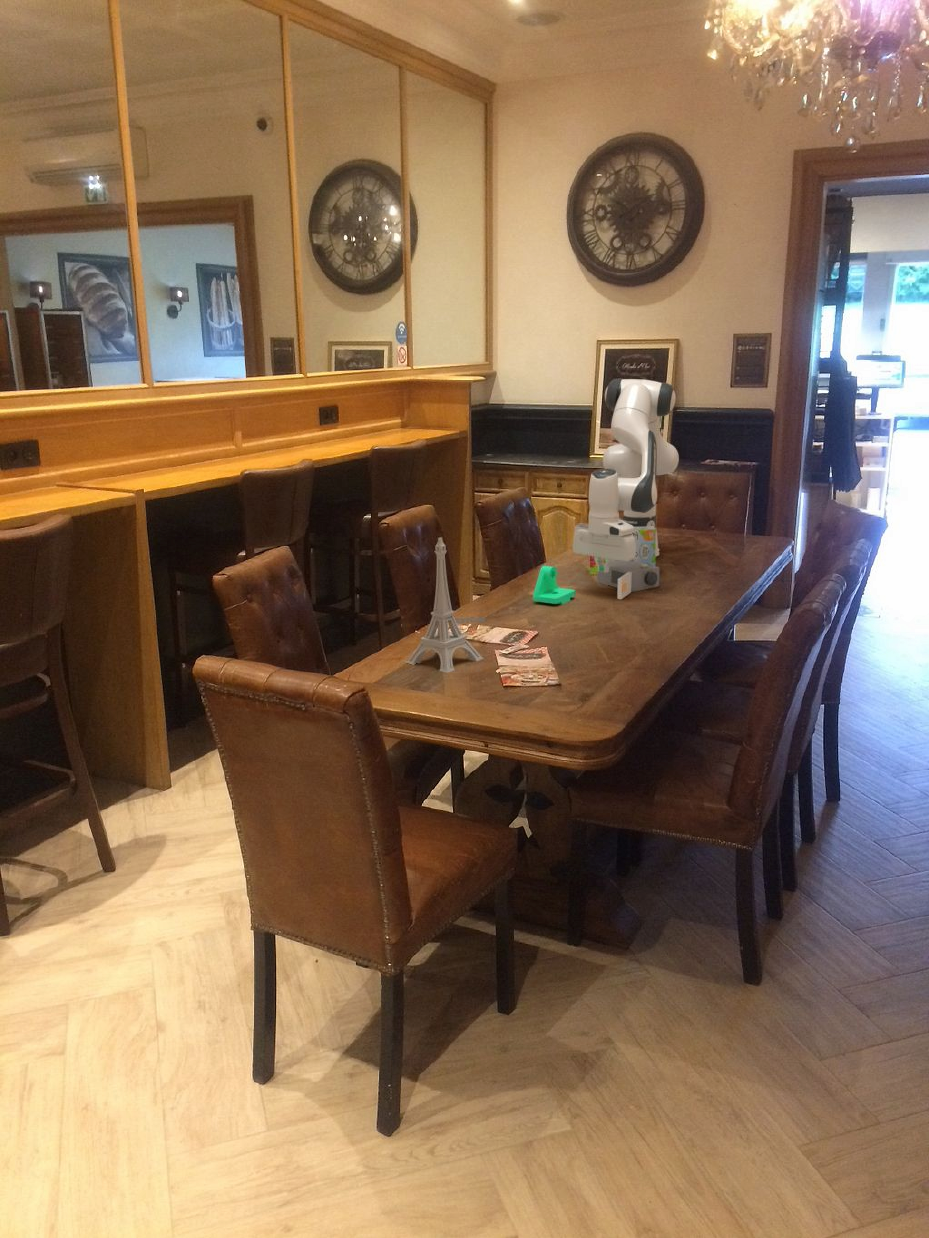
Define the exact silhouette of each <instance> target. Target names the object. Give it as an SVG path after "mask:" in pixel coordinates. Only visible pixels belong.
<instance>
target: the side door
mask: <svg viewBox="0 0 929 1238" xmlns="http://www.w3.org/2000/svg"><path fill="white" fill-rule="evenodd" d="M631 593H632V572H627V573H626V574H624V575H623V576H621V577H620V578H618V588H617V597H616V598H617V600H623V599H624V598H626V597H627V596H628V595H630V594H631Z"/></svg>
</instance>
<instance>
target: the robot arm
mask: <svg viewBox="0 0 929 1238" xmlns="http://www.w3.org/2000/svg"><path fill="white" fill-rule="evenodd" d="M676 398H677V397H676V393H675V388H674V387H673V385H672V384H670V383H667V382H659V381H655V380H649V379H644V378H643V379H637V378H636V379H635V378H634V379H633V378H629V379H628V378H627V379H626V378H621V377H620V378H614V379H612V380H611V381H610V382H609V383H608V384H607V386H606V389H605V392H604V401H605V405H606V408H608V410H610V411H612V412H613V414H612V417H611V425H610V426H611V427H610V429H611V433H612V436H613V438H614V439H615V440H616V441H617V442H618V444H615V445H610V446H608V447H607V448H606V449H605V451H604V453H603V456H602V464H603V468H600V469H596V470H594V471H593V472H591V474H590V479H589V484H588V485H589V486H588V504H589V511H588V523H583V522H579V523H577V524H575V526H574V532H573V533H574V535H573V544H572V551H573V552H574V554H578V555H584V556H588V557H589V556H594V560H595V562H596V564H597V566H598V571H599V572H605V573H607V572H609V566H610V564H611V563H612V561H613V559H615V560H622V561H630V560H633V559H634V557H635V555H636V545H635V538H634V536H633V535H632V534H631V533H633V532H634V527H655V529H656V557H659V556H660V552H659V551H660V548H659V542H658V540H659V539H658V531H657V528H656V527H657V526H658V525H657V523H658V519H657V514H656V512H657V511H656V509H657V508H656V507H657V506H656V504H657V499H658V490H657V476H663V475H666V474H672V473H674V471H675V470H676V469H677V467H678V465H679V462H680V461H679V460H680V459H679V458H680V457H679V456H680V455H679V452H678V450H677V449H676V447H675V446H674V445H673V444H671V443H669V442H667V440H666V439H664V437H663V435H662V434H661V431H660V430H661V429H660V425H661V423H660V419H661V417H665V416H668V415H669V414H670V413H671V412H672V410H673V409H674V407H675V405H676ZM619 443H620V444H619ZM619 511H623V514H622V515H620V513H619ZM602 558H605V561H606V563H605V565H603V564H602V561H601V559H602Z"/></svg>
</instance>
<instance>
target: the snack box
mask: <svg viewBox="0 0 929 1238" xmlns="http://www.w3.org/2000/svg"><path fill="white" fill-rule="evenodd" d="M656 530H657V528H656V529H655V527H634V532H633V533H631V534H632V535H633V536H634V538H635V545H636V555H635V557H634V559H633V560H630V561H634V562H638V563H643V564H647V565H651V566H656V558H657V556H656ZM601 561H602V563H606V561H605V558H602V559H601ZM613 561H617V560H615V559H613ZM588 572H589V575H590V576H597V564H596V562H595V560H594V556H589V555H588Z"/></svg>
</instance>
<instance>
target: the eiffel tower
mask: <svg viewBox="0 0 929 1238" xmlns="http://www.w3.org/2000/svg"><path fill="white" fill-rule="evenodd" d="M446 547H447V546H446V544H445V543H444V541H443V537H438V538H437V543H436V545H435V549H434V553H435V555H436V580H435V581H436V582H435V595H434V604H433V611H431V612H430V615H431V619H430V622H429V625H428V628H427V630H426V633H425V635H424V636H423V637H420V639H419V640H420V643H419V644H418V646H417V647H416V648H415V650H414V651H413V653H412V654H411V655H409V658H408V659H407V660H406V661H405V662H404V664H406V663H409V664H408V665H410V664H412V665H411V666H415V665H414V664H416V663H418V664H420V663H422V661H421V658H422V657H423V655H424V654H425V653H426V652H427V651H428V650H433V651H434V653H436V654H437V655H438V656H439V661H440V668H439V671H438V672H441V673H445V674H450V673H453V672H455V671H456V669H455V668H454V664H453V655H454V652H455V651H456V650H457V649H462V650H463V651H464V652H465V653H466V655H467V656H468V658H467V661H471V662H479V661H482V660H484V659H485V658H484V657H482V656H481V654H480V652H478V651H477V650H476V649H475V648H474V647H473V645H472V644H471V643H470V642H469V640H467V638H468V635H466V634H463V633H462V631H461V629H460V627H459V624H458V623H457V621H456V618H455V615H454V614H455V613H456V611H454V610H453V609H452V608H453V607H452V603H451V598H450V591H449V585H448V577H447V569H446V568H447V567H446V553H447V549H446ZM449 630H450V631H449ZM416 665H417V664H416Z"/></svg>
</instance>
